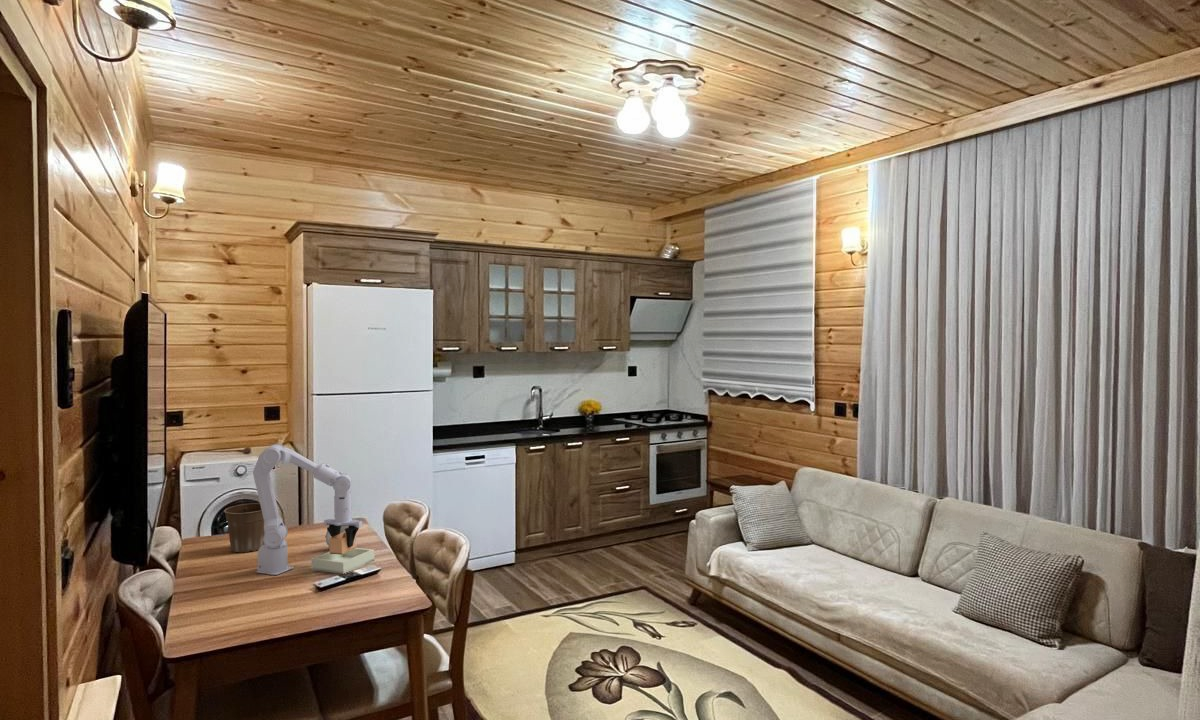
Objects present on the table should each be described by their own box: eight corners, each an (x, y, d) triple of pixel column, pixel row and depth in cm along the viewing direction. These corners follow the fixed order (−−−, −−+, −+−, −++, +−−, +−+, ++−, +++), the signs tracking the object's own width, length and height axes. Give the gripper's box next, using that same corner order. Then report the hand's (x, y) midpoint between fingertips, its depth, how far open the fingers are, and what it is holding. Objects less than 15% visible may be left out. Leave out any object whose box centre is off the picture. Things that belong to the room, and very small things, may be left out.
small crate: (329, 553, 240) (329, 538, 239) (343, 547, 247) (343, 532, 247) (342, 554, 238) (341, 539, 238) (355, 548, 246) (355, 533, 246)
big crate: (311, 570, 238) (311, 558, 238) (343, 556, 253) (343, 546, 253) (343, 574, 233) (343, 562, 233) (374, 560, 248) (374, 549, 248)
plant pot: (258, 555, 256) (257, 512, 256) (215, 555, 257) (215, 512, 256) (278, 542, 273) (278, 502, 272) (239, 542, 273) (238, 503, 273)
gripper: (318, 509, 241) (318, 547, 241) (353, 512, 237) (354, 550, 237) (330, 505, 248) (331, 542, 248) (365, 507, 244) (366, 544, 244)
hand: (343, 546), depth 243 cm, fingers closed on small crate, 5 cm apart
